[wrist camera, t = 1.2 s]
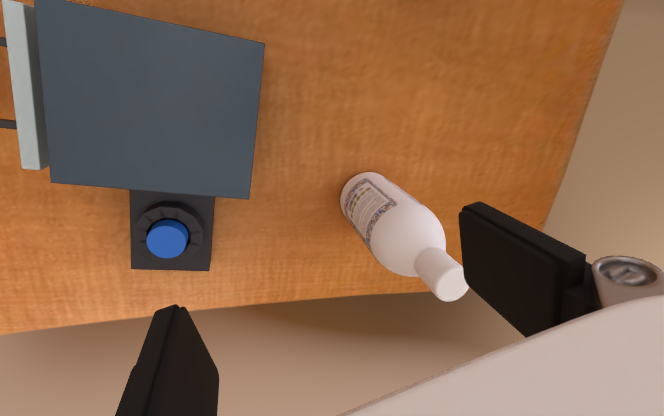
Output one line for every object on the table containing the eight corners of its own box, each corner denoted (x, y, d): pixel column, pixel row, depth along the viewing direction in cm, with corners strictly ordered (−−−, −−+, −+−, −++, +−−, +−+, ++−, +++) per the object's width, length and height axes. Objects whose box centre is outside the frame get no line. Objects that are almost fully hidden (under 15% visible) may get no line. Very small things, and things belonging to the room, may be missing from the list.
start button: (150, 217, 34) (146, 224, 33) (189, 220, 35) (186, 227, 34) (150, 249, 35) (146, 258, 34) (187, 251, 36) (185, 259, 35)
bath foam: (336, 223, 44) (403, 329, 25) (341, 170, 41) (418, 245, 23) (387, 222, 45) (483, 320, 27) (394, 171, 43) (505, 241, 25)
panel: (135, 175, 36) (123, 186, 32) (215, 182, 38) (213, 194, 35) (136, 259, 39) (125, 278, 35) (210, 261, 41) (207, 279, 38)
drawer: (-5, 140, 31) (-77, 159, 24) (-25, -1, 28) (-117, -26, 20) (216, 164, 37) (210, 186, 30) (224, 50, 33) (219, 43, 26)
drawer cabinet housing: (99, 155, 34) (50, 182, 26) (92, 16, 30) (32, -7, 22) (247, 171, 39) (249, 199, 30) (259, 51, 34) (264, 43, 26)
